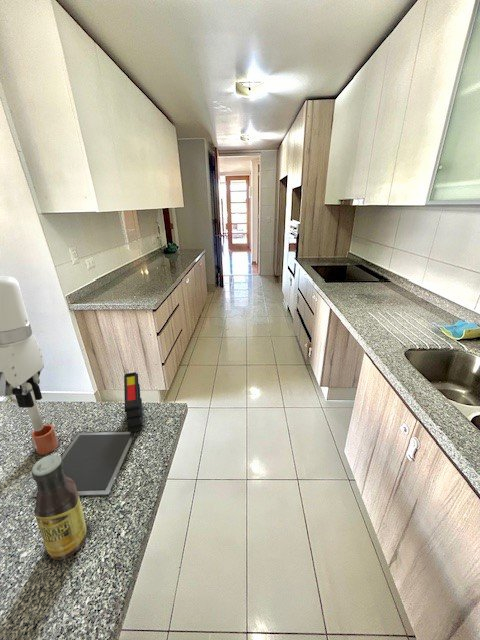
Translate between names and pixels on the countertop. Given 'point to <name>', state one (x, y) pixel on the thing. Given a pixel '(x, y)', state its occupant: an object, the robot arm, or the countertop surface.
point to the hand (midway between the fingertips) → (30, 402)
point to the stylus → (34, 411)
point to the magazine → (133, 402)
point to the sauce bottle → (58, 508)
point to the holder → (45, 439)
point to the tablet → (95, 460)
